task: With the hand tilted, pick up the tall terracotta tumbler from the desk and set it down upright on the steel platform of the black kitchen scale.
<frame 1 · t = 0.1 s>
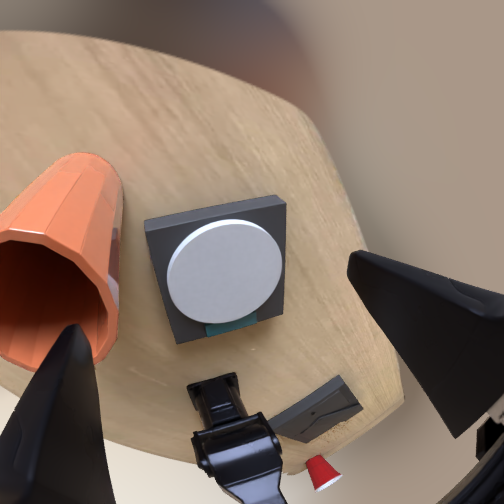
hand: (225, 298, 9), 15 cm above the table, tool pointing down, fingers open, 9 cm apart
tumbler: (79, 197, 18), on the table
scale: (219, 268, 26), on the table
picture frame: (317, 410, 52), on the table
plastic cup: (313, 458, 78), on the table
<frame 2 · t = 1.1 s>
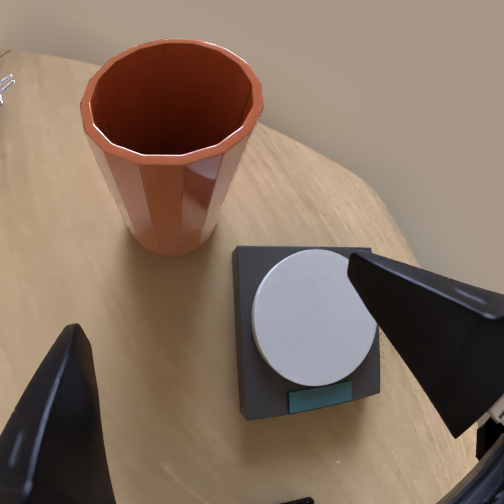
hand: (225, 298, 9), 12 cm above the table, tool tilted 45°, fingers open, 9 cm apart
tumbler: (172, 212, 21), on the table
scale: (306, 329, 22), on the table
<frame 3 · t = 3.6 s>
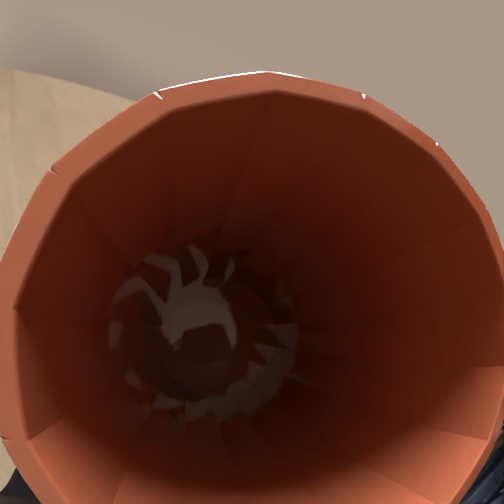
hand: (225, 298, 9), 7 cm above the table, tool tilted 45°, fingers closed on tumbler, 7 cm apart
tumbler: (216, 338, 15), on the table, touching gripper
when the fingers open (9 cm above the table, at t = 8.0 s): tumbler stays where it is, resting on scale.
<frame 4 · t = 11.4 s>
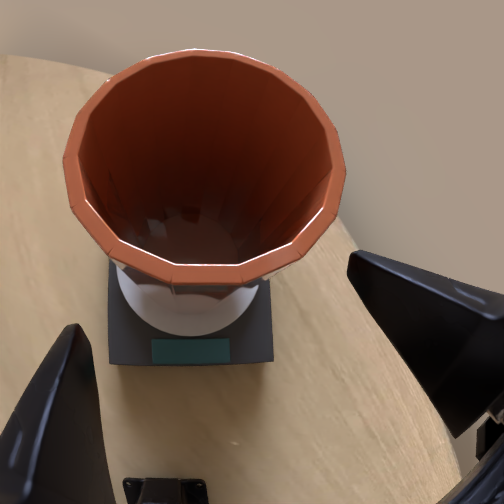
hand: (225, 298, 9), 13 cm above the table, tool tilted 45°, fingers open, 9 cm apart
tumbler: (189, 261, 18), point 3 cm above the table, touching scale
scale: (188, 279, 21), on the table
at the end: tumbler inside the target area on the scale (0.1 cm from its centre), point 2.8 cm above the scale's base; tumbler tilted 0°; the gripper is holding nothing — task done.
